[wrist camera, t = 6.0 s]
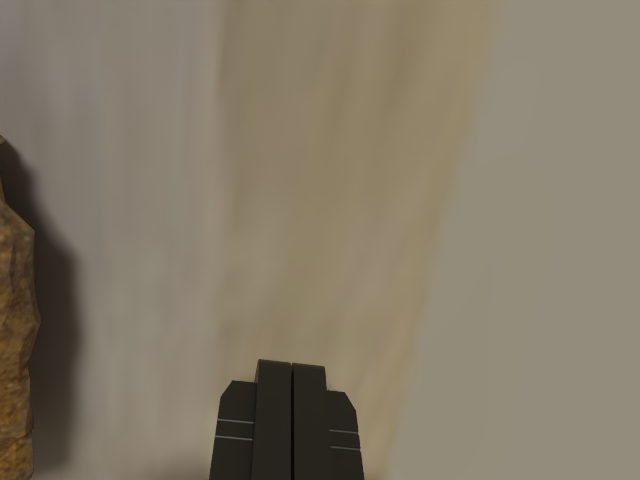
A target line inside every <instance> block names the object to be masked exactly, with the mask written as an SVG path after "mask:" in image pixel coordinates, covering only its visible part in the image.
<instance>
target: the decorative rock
mask: <svg viewBox="0 0 640 480" xmlns="http://www.w3.org/2000/svg"><path fill="white" fill-rule="evenodd" d="M3 142H5V140H4V139H3V137H2V136H1V135H0V145H1V144H2V143H3ZM34 239H35V231H34V230H33V229H32V228H31V227H30V226H29V225H28V224H27V223H26V222H25V221H24V220H23V219H22V218H21V217H20V216H19V215H18V214H17V213H16V212H15V211H14V210H13V209H12V208H11V207H10V206H9V205H8V204H7V203H6V202H5V198H4V194H3V188H2V182H1V175H0V480H29V479H31V476H32V473H33V471H34V468H33V446H32V435H31V430H32V429H33V428H34V423H33V410H32V407H31V404H30V402H29V401H30V382H31V381H30V376H29V371H28V366H27V363H28V360H29V358H30V356H31V354H32V352H33V349H34V345H35V340H36V336H37V332H38V329H39V326H40V323H41V317H40V313H39V309H38V305H37V301H36V297H35V285H34V265H33V258H34Z"/></svg>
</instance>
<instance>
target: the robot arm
mask: <svg viewBox="0 0 640 480" xmlns="http://www.w3.org/2000/svg"><path fill="white" fill-rule="evenodd" d="M209 480H364V473H363V465H362V457H361V452H360V440H359V435H358V424H357V416H356V410H355V409H354V407H353V405H352V404H351V402H350V400H349V399H348V397H347V395H346V394H345V392H338V391H329V390H327V389H326V375H325V368H324V366H316V365H307V364H298V363H292V365H291V364H290V363H288V362H279V361H270V360H261V359H259V360H258V364H257V369H256V375H255V380H254V383H253V382H243V381H234V380H232V382H231V383H230V385H229V386H228V387H227V389H226V390H225V392H224V393H223V394H222V396H221V398H220V405H219V412H218V419H217V426H216V433H215V440H214V447H213V454H212V461H211V469H210V476H209Z"/></svg>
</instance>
